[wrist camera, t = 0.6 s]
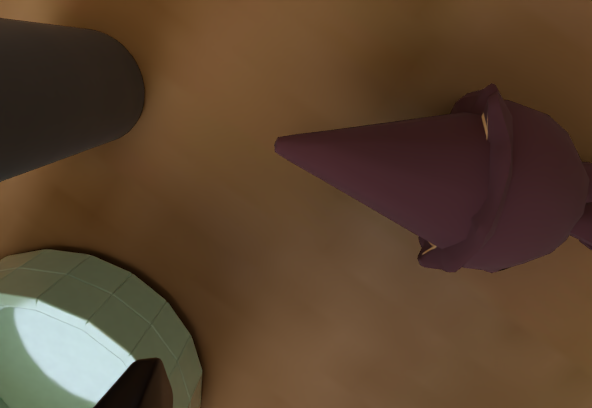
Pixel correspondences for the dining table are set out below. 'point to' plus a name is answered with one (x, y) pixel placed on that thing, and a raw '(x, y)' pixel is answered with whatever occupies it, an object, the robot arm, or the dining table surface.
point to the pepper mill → (62, 93)
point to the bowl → (84, 332)
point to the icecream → (462, 180)
